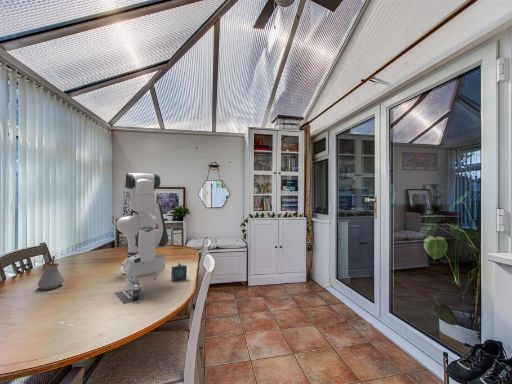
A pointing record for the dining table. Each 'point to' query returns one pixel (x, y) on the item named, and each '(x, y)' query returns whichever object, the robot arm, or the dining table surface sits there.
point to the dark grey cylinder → (136, 295)
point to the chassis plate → (127, 300)
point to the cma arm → (132, 284)
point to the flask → (179, 272)
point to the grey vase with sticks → (50, 277)
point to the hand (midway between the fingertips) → (146, 281)
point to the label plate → (127, 292)
